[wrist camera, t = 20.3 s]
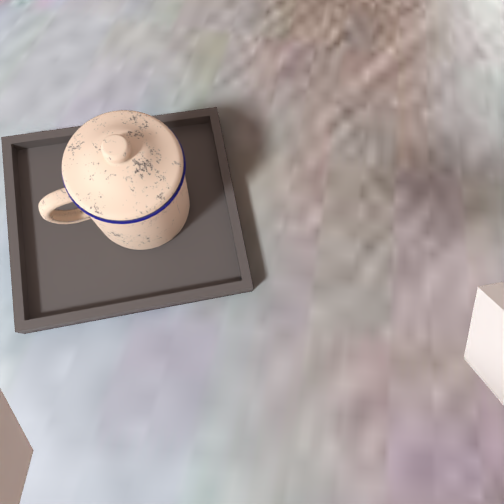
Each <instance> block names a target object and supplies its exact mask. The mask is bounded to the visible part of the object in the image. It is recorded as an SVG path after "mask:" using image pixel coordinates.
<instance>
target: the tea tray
mask: <svg viewBox="0 0 504 504" xmlns="http://www.w3.org/2000/svg"><path fill="white" fill-rule="evenodd" d="M152 117H154V118H156V119H158V120H160V121H161V122H162V123H164V124H165V125H166V126H167V127H168V128H169V129H170V130H171V131H172V132H173V133H174V134H175V135H176V137H177V138H178V140H179V142H180V144H181V146H182V148H183V151H184V155H185V162H186V170H185V178H186V183H187V188H188V194H189V200H190V207H189V213H188V217H187V220H186V222H185V224H184V226H183V228H182V229H181V230H180V232H179V233H178V234H177V235H176V236H175V237H174V238H173V239H171V240H170V241H168V242H167V243H165V244H163V245H161V246H159V247H156V248H152V249H146V250H135V249H129V248H125V247H123V246H120V245H118V244H116V243H115V242H113V241H112V240H110V239H109V238H108V237H107V236H106V235H105V234H104V233H103V232H102V231H101V229H100V228H99V227H98V226H97V225H96V223H95V222H94V221H93V220H92V219H89V220H85V221H82V222H78V223H73V224H56V223H52V222H49V221H47V220H45V219H44V218H43V217H42V216H41V214H40V211H39V207H38V205H39V202H40V201H41V200H42V198H44V197H45V196H46V195H48V194H49V193H51V192H54V191H56V190H59V189H62V188H65V187H64V183H63V179H62V159H63V154H64V151H65V148H66V146H67V144H68V142H69V140H70V139H71V137H72V136H73V135H74V133H75V132H76V131H77V130H78V129H79V128H80V127H81V126H78V127H71V128H64V129H57V130H49V131H42V132H35V133H28V134H21V135H14V136H6V137H1V139H2V153H3V167H4V182H5V196H6V210H7V224H8V239H9V253H10V267H11V281H12V296H13V310H14V324H15V332H18V333H23V334H26V333H31V332H37V331H42V330H48V329H53V328H58V327H64V326H69V325H74V324H80V323H85V322H90V321H96V320H101V319H106V318H112V317H117V316H122V315H128V314H133V313H138V312H144V311H149V310H154V309H160V308H165V307H170V306H176V305H181V304H186V303H192V302H197V301H202V300H208V299H213V298H218V297H224V296H229V295H234V294H240V293H245V292H250V291H252V290H253V284H252V279H251V274H250V269H249V264H248V260H247V255H246V250H245V245H244V240H243V235H242V230H241V225H240V220H239V215H238V210H237V205H236V200H235V196H234V191H233V186H232V181H231V176H230V171H229V166H228V161H227V156H226V151H225V146H224V141H223V136H222V131H221V127H220V122H219V117H218V112H217V107H214V108H207V109H200V110H193V111H185V112H178V113H171V114H164V115H157V116H152ZM75 208H78V207H77V206H76V205H75V204H74V202H71V203H68V204H65V205H62V206H60V207H58V208H56V209H58V210H69V209H75Z"/></svg>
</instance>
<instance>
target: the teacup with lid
mask: <svg viewBox="0 0 504 504" xmlns="http://www.w3.org/2000/svg"><path fill="white" fill-rule="evenodd" d="M185 170H186V162H185V155H184V151H183V148H182V146H181V144H180V142H179V140H178V138H177V137H176V135H175V134H174V133H173V132H172V131H171V130H170V129H169V128H168V127H167V126H166V125H165V124H164V123H162V122H161V121H160V120H158V119H156V118H154V117H152V116H150V115H147V114H145V113H141V112H136V111H128V110H121V111H112V112H108V113H104V114H101V115H99V116H97V117H94V118H93V119H91V120H89V121H88V122H86V123H85V124H84V125H82V126H81V127H80V128H79V129H78V130H77V131H76V132H75V133H74V135H73V136H72V137H71V139H70V140H69V142H68V144H67V146H66V148H65V151H64V154H63V159H62V179H63V183H64V187H65V188H62V189H59V190H56V191H54V192H51V193H49V194H48V195H46V196H45V197H44V198H42V200H41V201H40V202H39V205H38V207H39V211H40V214H41V216H42V217H43V218H44V219H45V220H47V221H49V222H52V223H56V224H73V223H78V222H82V221H85V220H89V219H92V220H93V221H94V222H95V223H96V225H97V226H98V227H99V228H100V229H101V231H102V232H103V233H104V234H105V235H106V236H107V237H108V238H109V239H110V240H112V241H113V242H115V243H116V244H118V245H120V246H123V247H125V248H129V249H135V250H146V249H152V248H156V247H159V246H161V245H163V244H165V243H167V242H168V241H170V240H171V239H173V238H174V237H175V236H176V235H177V234H178V233H179V232H180V230H181V229H182V228H183V226H184V224H185V222H186V220H187V217H188V213H189V207H190V200H189V194H188V188H187V183H186V178H185ZM71 202H74V204H75V205H76V206H77V207H78V208H75V209H69V210H58V209H56V208H58V207H60V206H62V205H65V204H68V203H71Z"/></svg>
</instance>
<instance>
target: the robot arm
mask: <svg viewBox="0 0 504 504" xmlns="http://www.w3.org/2000/svg"><path fill="white" fill-rule="evenodd" d="M464 359H465V360H466V362H467V363H468V364H469V365H470V366H471V367H472V369H473V370H474V371H475V372H476V373H477V375H478V376H479V377H480V378H481V379H482V380H483V382H484V383H485V384H486V385H487V386H488V388H489V389H490V390H491V391H492V392H493V394H494V395H495V396H496V397H497V398H498V399H499V401H500V402H501V403H502V404H503V405H504V283H503V282H500V283H495V284H490V285H484V286H479V287H478V289H477V294H476V299H475V304H474V309H473V314H472V319H471V324H470V329H469V334H468V339H467V344H466V349H465V354H464ZM32 454H33V449H32V447H31V445H30V443H29V441H28V439H27V438H26V436H25V434H24V432H23V430H22V428H21V426H20V424H19V423H18V421H17V419H16V417H15V415H14V413H13V411H12V409H11V408H10V406H9V404H8V402H7V400H6V398H5V396H4V395H3V393H2V391H1V389H0V504H19V503H20V499H21V495H22V491H23V488H24V484H25V480H26V476H27V472H28V469H29V465H30V461H31V457H32Z"/></svg>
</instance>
